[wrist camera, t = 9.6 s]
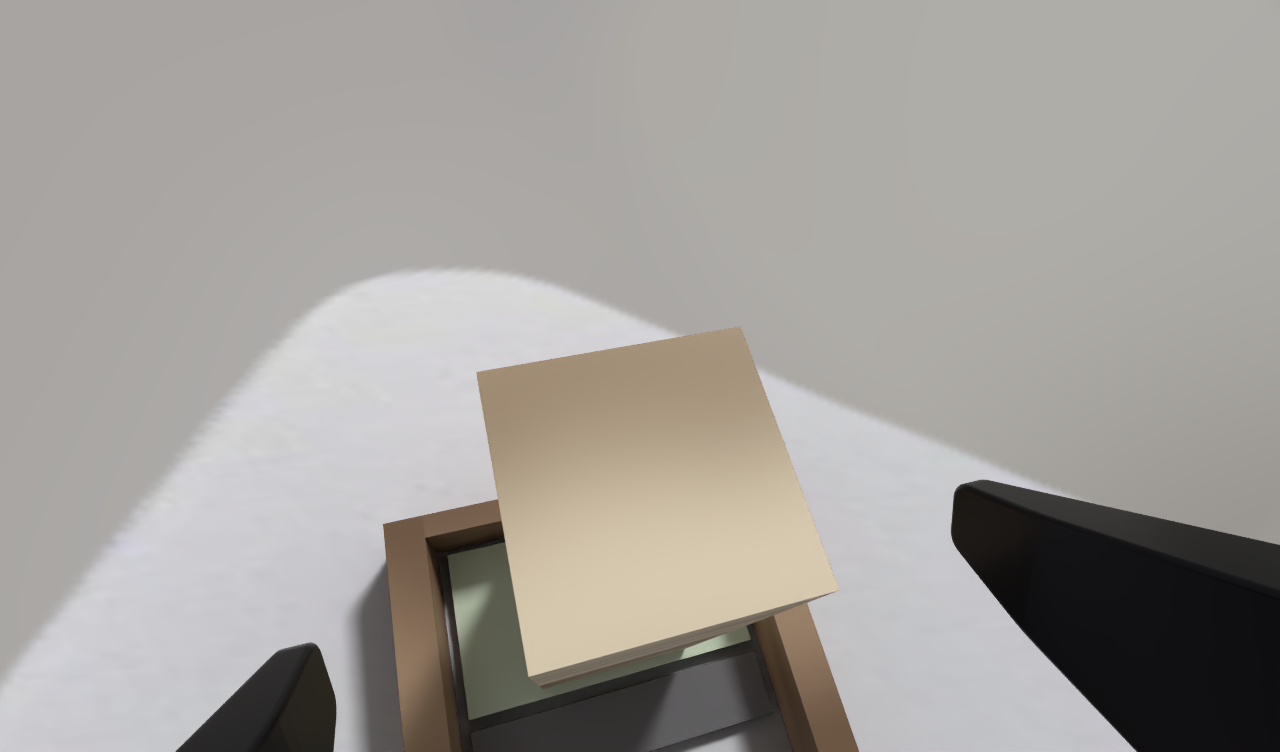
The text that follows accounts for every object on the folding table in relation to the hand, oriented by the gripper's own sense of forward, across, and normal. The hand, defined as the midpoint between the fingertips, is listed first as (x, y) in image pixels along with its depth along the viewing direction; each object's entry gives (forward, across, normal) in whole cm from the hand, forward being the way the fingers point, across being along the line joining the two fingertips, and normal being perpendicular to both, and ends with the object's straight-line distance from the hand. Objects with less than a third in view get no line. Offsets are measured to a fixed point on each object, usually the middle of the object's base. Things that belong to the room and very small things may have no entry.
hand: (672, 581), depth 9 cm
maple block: (+8, 0, +6) cm, 10 cm away
